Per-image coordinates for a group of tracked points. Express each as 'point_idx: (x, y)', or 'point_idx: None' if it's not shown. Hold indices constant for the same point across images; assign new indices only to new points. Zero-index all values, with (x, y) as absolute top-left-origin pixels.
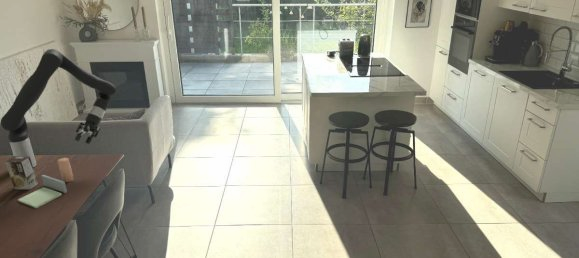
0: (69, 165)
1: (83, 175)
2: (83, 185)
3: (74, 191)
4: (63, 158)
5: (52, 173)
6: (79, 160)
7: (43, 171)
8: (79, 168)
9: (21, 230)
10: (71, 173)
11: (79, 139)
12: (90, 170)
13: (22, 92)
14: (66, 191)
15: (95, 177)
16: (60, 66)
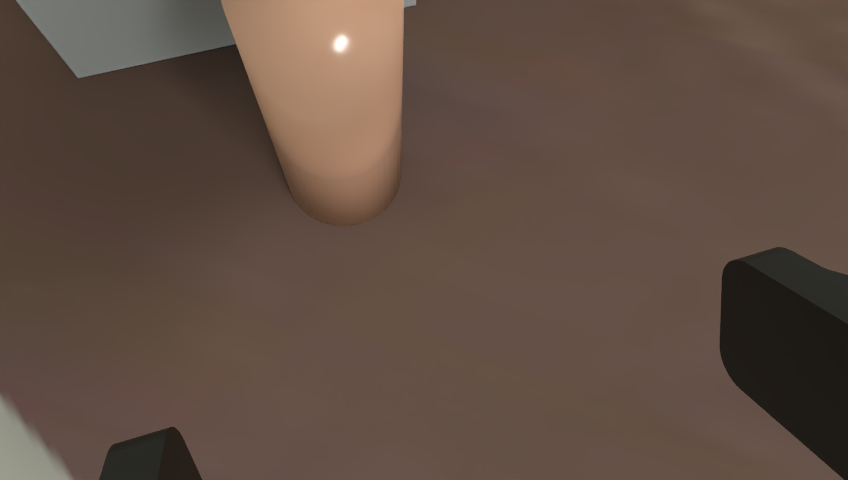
0: (266, 104)
1: (311, 332)
2: (58, 236)
3: (20, 126)
4: (375, 9)
5: (640, 116)
6: (822, 469)
7: (757, 73)
8: (556, 372)
9: None
10: (286, 169)
11: (772, 410)
12: (382, 455)
13: None
14: (72, 65)
15: (122, 420)
16: None
